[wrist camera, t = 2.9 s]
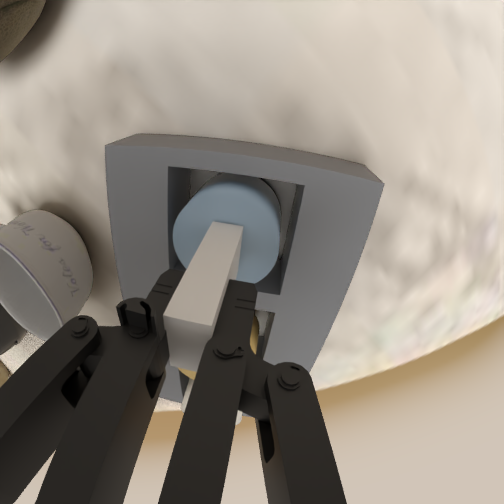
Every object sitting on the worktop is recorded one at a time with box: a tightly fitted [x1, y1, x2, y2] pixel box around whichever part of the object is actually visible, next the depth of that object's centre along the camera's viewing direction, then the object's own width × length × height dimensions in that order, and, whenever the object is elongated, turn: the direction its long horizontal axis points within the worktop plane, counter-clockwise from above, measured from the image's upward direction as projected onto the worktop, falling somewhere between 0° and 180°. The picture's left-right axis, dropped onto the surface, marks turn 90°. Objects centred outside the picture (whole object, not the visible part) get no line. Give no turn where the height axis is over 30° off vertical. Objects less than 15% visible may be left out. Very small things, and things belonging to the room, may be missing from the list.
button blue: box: [173, 173, 281, 284], centre depth 16 cm, size 6×6×4 cm
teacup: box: [0, 210, 93, 341], centre depth 19 cm, size 14×11×8 cm
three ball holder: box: [105, 134, 384, 417], centre depth 21 cm, size 15×26×4 cm, turn 173°
